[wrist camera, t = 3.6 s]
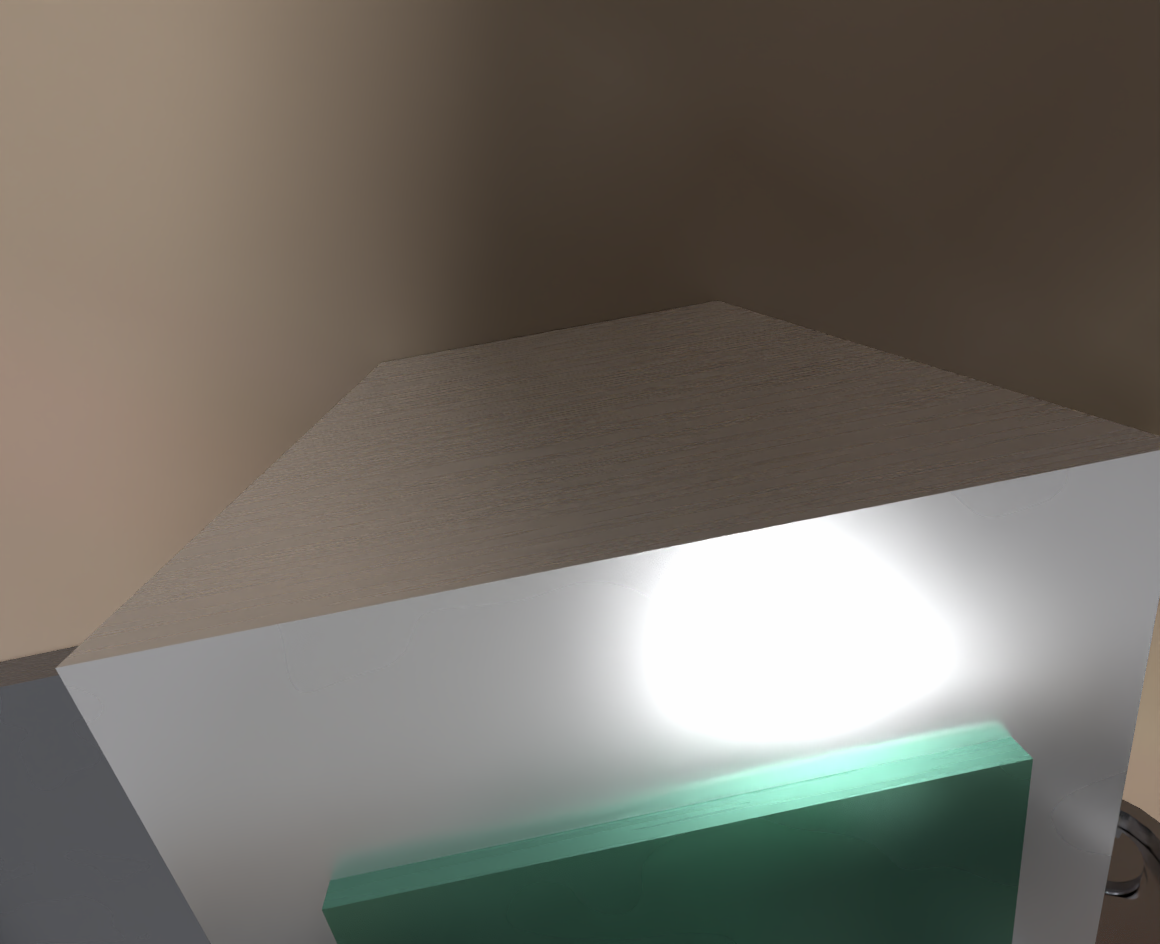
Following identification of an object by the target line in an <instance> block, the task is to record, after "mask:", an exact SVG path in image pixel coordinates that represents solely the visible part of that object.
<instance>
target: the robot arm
mask: <svg viewBox="0 0 1160 944" xmlns="http://www.w3.org/2000/svg"><path fill="white" fill-rule="evenodd" d="M1095 944H1160V823H1159V822H1158V821H1157V820H1155V819H1154V818H1153V817H1151V816H1150V815H1148V814H1147V813H1146V812H1144V811H1143V810H1142V809H1140V808H1138V807H1136V806H1134V805H1132V804H1130V803H1128V802H1126V801H1124V800H1122V801H1121V807H1120V812H1119V817H1118V823H1117V828H1116V834H1115V839H1114V844H1113V850H1112V855H1111V861H1110V866H1109V871H1108V877H1107V882H1106V888H1105V893H1104V898H1103V904H1102V909H1101V915H1100V920H1099V925H1098V931H1097V936H1096V942H1095Z"/></svg>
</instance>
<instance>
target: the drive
mask: <svg viewBox="0 0 1160 944" xmlns="http://www.w3.org/2000/svg"><path fill="white" fill-rule="evenodd" d="M1159 596H1160V436H1158V435H1154V434H1151V433H1148V432H1145V431H1141V430H1138V429H1135V428H1132V427H1128V426H1125V425H1122V424H1119V423H1115V422H1112V421H1109V420H1105V419H1102V418H1099V417H1096V416H1092V415H1089V414H1086V413H1083V412H1079V411H1076V410H1073V409H1070V408H1066V407H1063V406H1060V405H1057V404H1053V403H1050V402H1047V401H1044V400H1040V399H1037V398H1034V397H1030V396H1027V395H1024V394H1021V393H1017V392H1014V391H1011V390H1008V389H1004V388H1001V387H998V386H995V385H991V384H988V383H985V382H982V381H978V380H975V379H972V378H969V377H965V376H962V375H959V374H956V373H952V372H949V371H946V370H942V369H939V368H936V367H933V366H929V365H926V364H923V363H920V362H916V361H913V360H910V359H907V358H903V357H900V356H897V355H894V354H890V353H887V352H884V351H881V350H877V349H874V348H871V347H867V346H864V345H861V344H858V343H854V342H851V341H848V340H845V339H841V338H838V337H835V336H832V335H828V334H825V333H822V332H819V331H815V330H812V329H809V328H806V327H802V326H799V325H796V324H792V323H789V322H786V321H783V320H779V319H776V318H773V317H770V316H766V315H763V314H760V313H757V312H753V311H750V310H747V309H744V308H740V307H737V306H734V305H731V304H727V303H724V302H721V301H712V302H707V303H702V304H696V305H691V306H685V307H680V308H675V309H669V310H664V311H658V312H653V313H648V314H642V315H637V316H631V317H626V318H621V319H615V320H610V321H604V322H599V323H594V324H588V325H583V326H577V327H572V328H566V329H561V330H556V331H550V332H545V333H539V334H534V335H529V336H523V337H518V338H512V339H507V340H502V341H496V342H491V343H485V344H480V345H475V346H469V347H464V348H458V349H453V350H448V351H442V352H437V353H431V354H426V355H420V356H415V357H410V358H404V359H399V360H393V361H388V362H383V363H380V364H379V365H378V366H377V367H376V368H375V369H374V370H373V371H371V372H370V373H369V374H368V375H367V376H366V377H365V378H364V379H363V380H362V381H361V382H360V383H359V384H358V385H357V386H356V387H354V388H353V389H352V390H351V391H350V392H349V393H348V394H347V395H346V396H345V397H344V398H343V399H342V400H341V401H340V402H338V403H337V404H336V405H335V406H334V407H333V408H332V409H331V410H330V411H329V412H328V413H327V414H326V415H325V416H324V417H322V418H321V419H320V420H319V421H318V422H317V423H316V424H315V425H314V426H313V427H312V428H311V429H310V430H309V431H308V432H306V433H305V434H304V435H303V436H302V437H301V438H300V439H299V440H298V441H297V442H296V443H295V444H294V445H293V446H292V447H290V448H289V449H288V450H287V451H286V452H285V453H284V454H283V455H282V456H281V457H280V458H279V459H278V460H277V461H276V462H274V463H273V464H272V465H271V466H270V467H269V468H268V469H267V470H266V471H265V472H264V473H263V474H262V475H261V476H260V477H258V478H257V479H256V480H255V481H254V482H253V483H252V484H251V485H250V486H249V487H248V488H247V489H246V490H245V491H244V492H242V493H241V494H240V495H239V496H238V497H237V498H236V499H235V500H234V501H233V502H232V503H231V504H230V505H229V506H228V507H226V508H225V509H224V510H223V511H222V512H221V513H220V514H219V515H218V516H217V517H216V518H215V519H214V520H213V521H212V522H210V523H209V524H208V525H207V526H206V527H205V528H204V529H203V530H202V531H201V532H200V533H199V534H198V535H197V536H196V537H195V538H193V539H192V540H191V541H190V542H189V543H188V544H187V545H186V546H185V547H184V548H183V549H182V550H181V551H180V552H179V553H177V554H176V555H175V556H174V557H173V558H172V559H171V560H170V561H169V562H168V563H167V564H166V565H165V566H164V567H163V568H161V569H160V570H159V571H158V572H157V573H156V574H155V575H154V576H153V577H152V578H151V579H150V580H149V581H148V582H147V583H145V584H144V585H143V586H142V587H141V588H140V589H139V590H138V591H137V592H136V593H135V594H134V595H133V596H132V597H131V598H129V599H128V600H127V601H126V602H125V603H124V604H123V605H122V606H121V607H120V608H119V609H118V610H117V611H116V612H115V613H113V614H112V615H111V616H110V617H109V618H108V619H107V620H106V621H105V622H104V623H103V624H102V625H101V626H100V627H99V628H97V629H96V630H95V631H94V632H93V633H92V634H91V635H90V636H89V637H88V638H87V639H86V640H85V641H84V642H83V643H81V644H80V645H79V646H78V647H77V648H76V649H75V650H74V651H73V652H72V653H71V654H70V655H69V656H68V657H67V658H65V659H64V660H63V661H62V662H61V663H60V664H59V665H58V666H57V667H56V668H55V669H56V670H57V672H58V674H59V676H60V677H61V679H62V681H63V683H64V685H65V686H66V688H67V690H68V692H69V693H70V695H71V697H72V699H73V700H74V702H75V704H76V706H77V708H78V709H79V711H80V713H81V715H82V716H83V718H84V720H85V722H86V723H87V725H88V727H89V729H90V731H91V732H92V734H93V736H94V738H95V739H96V741H97V743H98V745H99V746H100V748H101V750H102V752H103V754H104V755H105V757H106V759H107V761H108V762H109V764H110V766H111V768H112V770H113V771H114V773H115V775H116V777H117V778H118V780H119V782H120V784H121V785H122V787H123V789H124V791H125V793H126V794H127V796H128V798H129V800H130V801H131V803H132V805H133V807H134V808H135V810H136V812H137V814H138V816H139V817H140V819H141V821H142V823H143V824H144V826H145V828H146V830H147V832H148V833H149V835H150V837H151V839H152V840H153V842H154V844H155V846H156V847H157V849H158V851H159V853H160V855H161V856H162V858H163V860H164V862H165V863H166V865H167V867H168V869H169V870H170V872H171V874H172V876H173V878H174V879H175V881H176V883H177V885H178V886H179V888H180V890H181V892H182V894H183V895H184V897H185V899H186V901H187V902H188V904H189V906H190V908H191V909H192V911H193V913H194V915H195V917H196V918H197V920H198V922H199V924H200V925H201V927H202V929H203V931H204V932H205V934H206V936H207V938H208V940H209V941H210V943H211V944H1095V942H1096V936H1097V931H1098V925H1099V920H1100V915H1101V909H1102V904H1103V898H1104V893H1105V888H1106V882H1107V877H1108V871H1109V866H1110V861H1111V855H1112V850H1113V844H1114V839H1115V834H1116V828H1117V823H1118V817H1119V812H1120V807H1121V801H1122V796H1123V790H1124V785H1125V779H1126V774H1127V769H1128V763H1129V758H1130V752H1131V747H1132V742H1133V736H1134V731H1135V725H1136V720H1137V715H1138V709H1139V704H1140V698H1141V693H1142V688H1143V682H1144V677H1145V671H1146V666H1147V661H1148V655H1149V650H1150V644H1151V639H1152V634H1153V628H1154V623H1155V617H1156V612H1157V607H1158V601H1159Z"/></svg>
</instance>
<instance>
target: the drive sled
mask: <svg viewBox="0 0 1160 944" xmlns="http://www.w3.org/2000/svg"><path fill="white" fill-rule="evenodd" d="M77 647H78V646H76V647H71V648H66V649H61V650H56V651H52V652H47V653H42V654H37V655H32V656H28V657H23V658H18V659H13V660H8V661H3V662H0V944H211V943H210V941H209V940H208V938H207V936H206V934H205V932H204V931H203V929H202V927H201V925H200V924H199V922H198V920H197V918H196V917H195V915H194V913H193V911H192V909H191V908H190V906H189V904H188V902H187V901H186V899H185V897H184V895H183V894H182V892H181V890H180V888H179V886H178V885H177V883H176V881H175V879H174V878H173V876H172V874H171V872H170V870H169V869H168V867H167V865H166V863H165V862H164V860H163V858H162V856H161V855H160V853H159V851H158V849H157V847H156V846H155V844H154V842H153V840H152V839H151V837H150V835H149V833H148V832H147V830H146V828H145V826H144V824H143V823H142V821H141V819H140V817H139V816H138V814H137V812H136V810H135V808H134V807H133V805H132V803H131V801H130V800H129V798H128V796H127V794H126V793H125V791H124V789H123V787H122V785H121V784H120V782H119V780H118V778H117V777H116V775H115V773H114V771H113V770H112V768H111V766H110V764H109V762H108V761H107V759H106V757H105V755H104V754H103V752H102V750H101V748H100V746H99V745H98V743H97V741H96V739H95V738H94V736H93V734H92V732H91V731H90V729H89V727H88V725H87V723H86V722H85V720H84V718H83V716H82V715H81V713H80V711H79V709H78V708H77V706H76V704H75V702H74V700H73V699H72V697H71V695H70V693H69V692H68V690H67V688H66V686H65V685H64V683H63V681H62V679H61V677H60V676H59V674H58V672H57V670H56V669H55V668H56V667H57V666H58V665H59V664H60V663H61V662H62V661H63V660H64V659H65V658H67V657H68V656H69V655H70V654H71V653H72V652H73V651H74V650H75V649H76V648H77Z"/></svg>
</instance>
